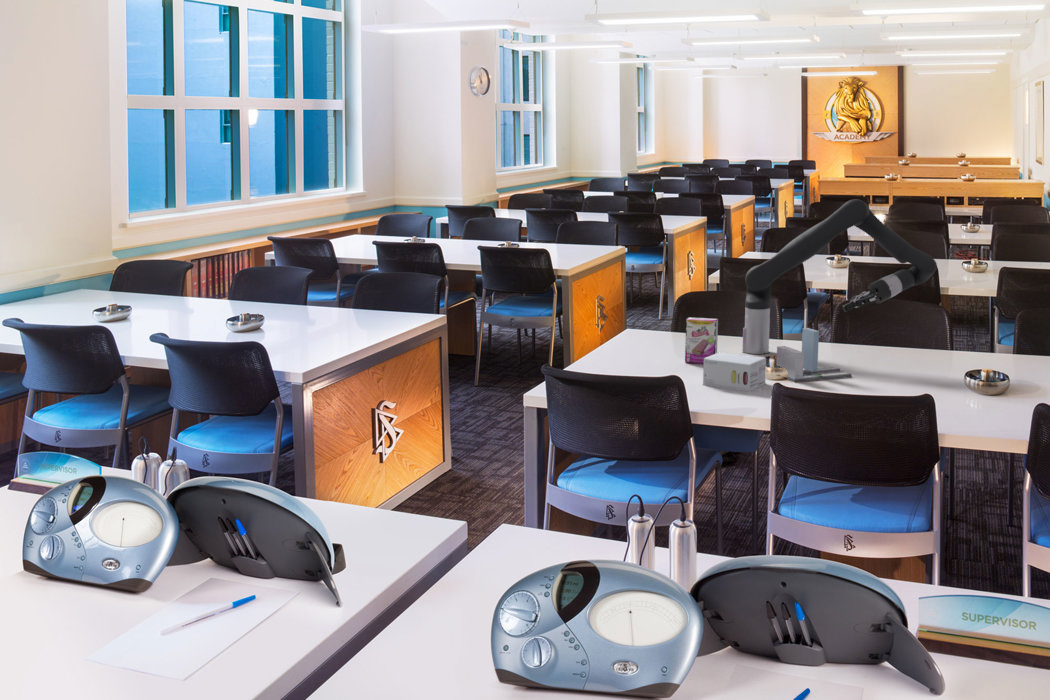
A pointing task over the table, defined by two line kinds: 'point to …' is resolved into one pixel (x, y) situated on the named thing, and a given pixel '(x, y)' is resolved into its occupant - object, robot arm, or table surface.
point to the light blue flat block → (810, 349)
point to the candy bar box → (700, 339)
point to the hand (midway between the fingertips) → (844, 309)
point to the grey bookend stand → (794, 367)
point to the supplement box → (734, 371)
